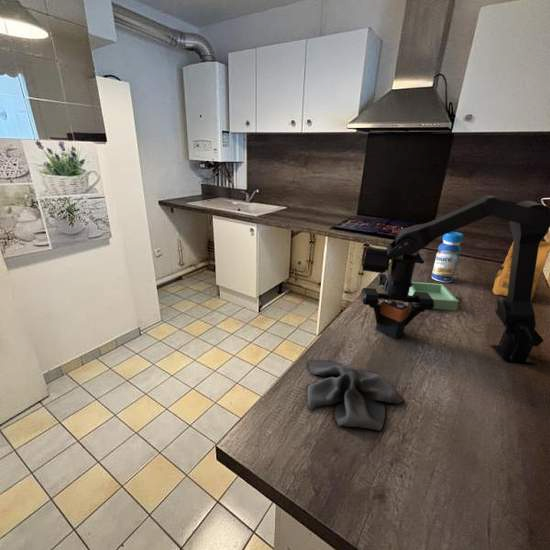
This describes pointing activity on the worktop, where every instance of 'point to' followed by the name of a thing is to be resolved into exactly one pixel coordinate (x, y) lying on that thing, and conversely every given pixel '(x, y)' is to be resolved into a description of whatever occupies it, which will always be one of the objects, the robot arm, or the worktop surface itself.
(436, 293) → the tray
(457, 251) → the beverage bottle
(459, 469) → the worktop surface
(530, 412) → the worktop surface
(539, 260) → the coffee package
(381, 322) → the battery
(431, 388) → the worktop surface
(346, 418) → the cloth
